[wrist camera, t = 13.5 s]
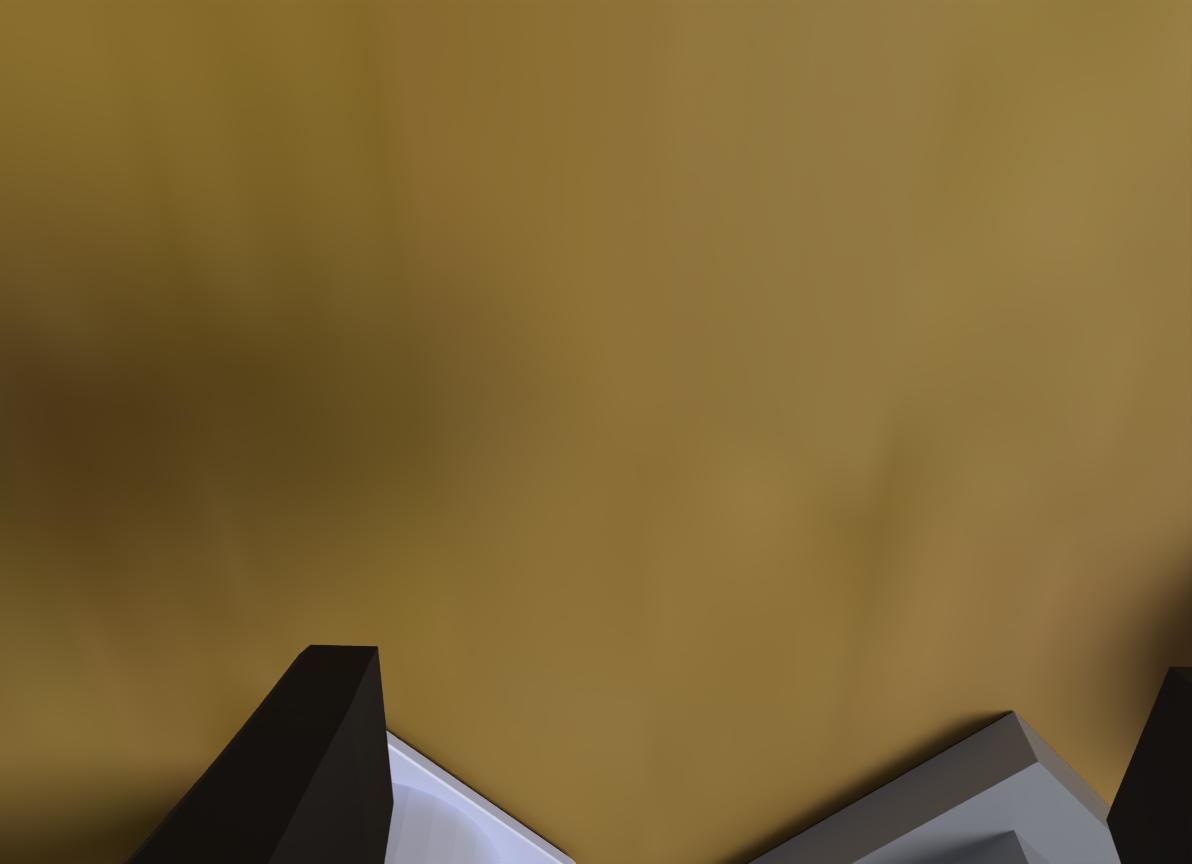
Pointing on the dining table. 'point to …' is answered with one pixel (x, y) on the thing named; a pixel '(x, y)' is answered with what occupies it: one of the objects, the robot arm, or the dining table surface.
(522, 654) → the dining table surface
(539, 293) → the dining table surface
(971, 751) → the checker housing
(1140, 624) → the dining table surface
